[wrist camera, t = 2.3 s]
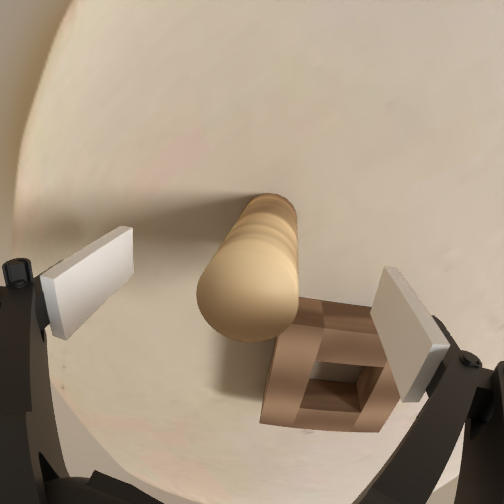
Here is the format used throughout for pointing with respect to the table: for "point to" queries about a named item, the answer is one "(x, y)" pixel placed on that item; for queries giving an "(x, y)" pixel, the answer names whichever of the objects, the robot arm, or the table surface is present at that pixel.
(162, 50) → the table surface
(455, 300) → the table surface
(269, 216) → the oak peg
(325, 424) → the walnut socket
